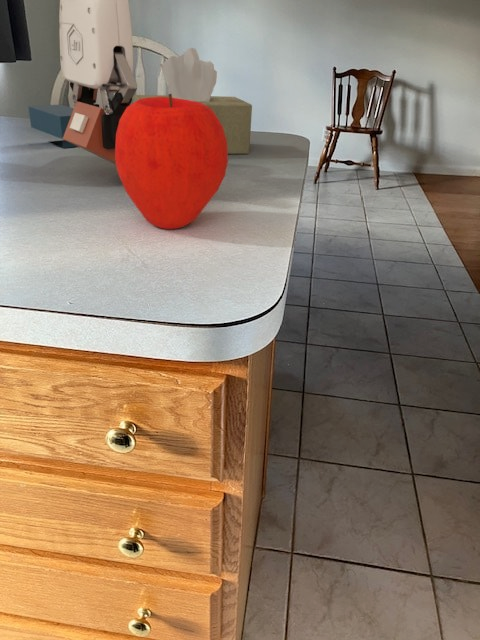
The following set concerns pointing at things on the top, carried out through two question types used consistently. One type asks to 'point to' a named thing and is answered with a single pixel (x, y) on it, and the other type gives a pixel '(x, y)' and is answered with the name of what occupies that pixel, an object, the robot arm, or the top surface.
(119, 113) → the robot arm
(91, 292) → the top surface
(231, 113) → the tissue box
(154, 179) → the apple
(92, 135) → the tissue pack front
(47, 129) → the tissue pack back
